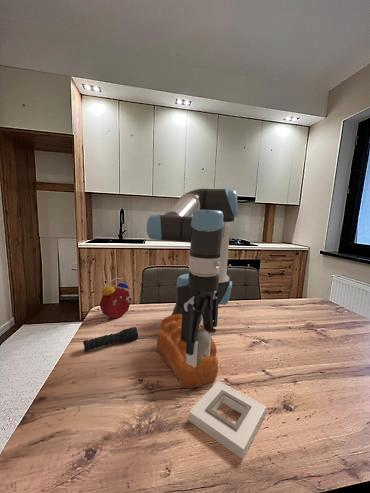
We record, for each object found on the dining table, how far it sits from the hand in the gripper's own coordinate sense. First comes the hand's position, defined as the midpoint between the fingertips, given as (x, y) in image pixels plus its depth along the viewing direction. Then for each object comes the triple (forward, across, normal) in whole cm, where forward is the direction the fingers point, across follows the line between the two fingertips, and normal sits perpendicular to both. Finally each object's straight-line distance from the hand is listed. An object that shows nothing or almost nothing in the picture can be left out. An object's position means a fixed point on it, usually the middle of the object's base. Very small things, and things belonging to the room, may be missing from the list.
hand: (198, 358), depth 61 cm
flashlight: (+16, +3, +44) cm, 47 cm away
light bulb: (+2, 0, 0) cm, 2 cm away
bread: (+16, +15, +16) cm, 27 cm away
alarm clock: (+16, +18, +63) cm, 68 cm away
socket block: (+16, +5, -8) cm, 18 cm away
